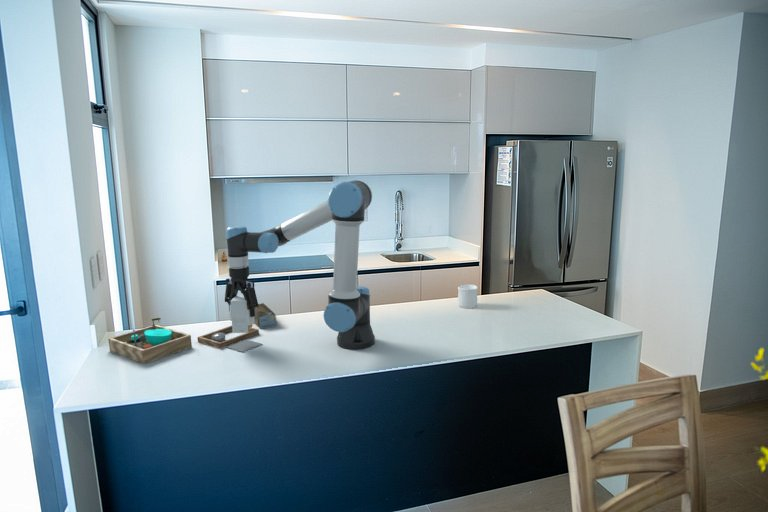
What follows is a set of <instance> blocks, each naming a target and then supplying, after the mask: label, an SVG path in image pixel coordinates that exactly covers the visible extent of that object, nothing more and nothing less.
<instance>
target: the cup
mask: <svg viewBox="0 0 768 512" xmlns="http://www.w3.org/2000/svg"><path fill="white" fill-rule="evenodd" d="M457 289H458V293H457V305H458V307H459V308H461V309H475V308H477V306H478V289H479V288H478V286H477V285H475V284H469V283H468V284H461V285H459V286H457Z"/></svg>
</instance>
